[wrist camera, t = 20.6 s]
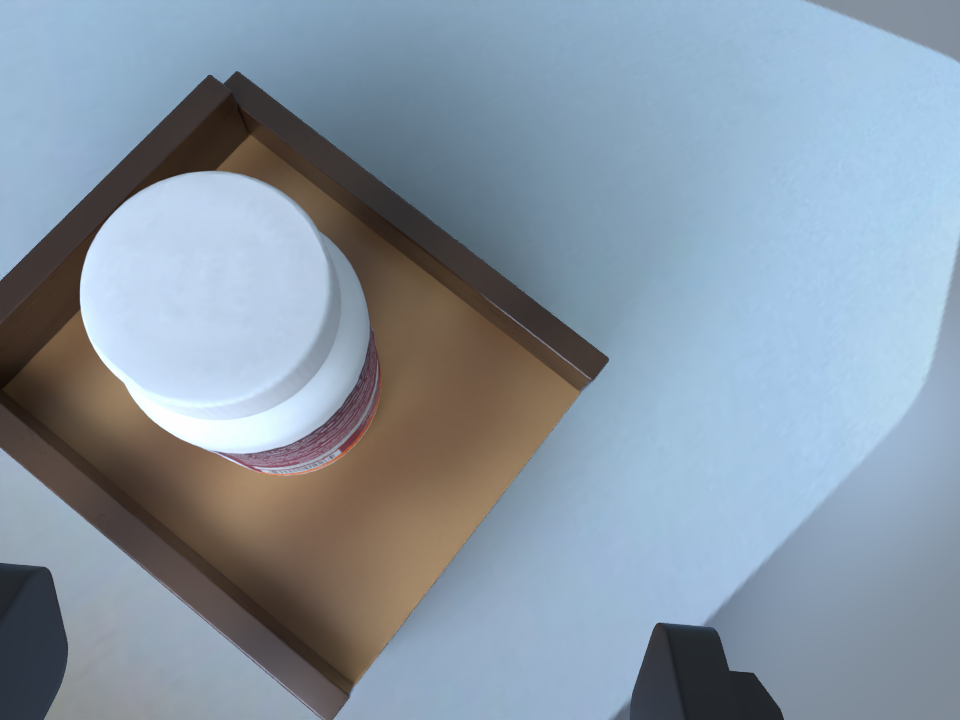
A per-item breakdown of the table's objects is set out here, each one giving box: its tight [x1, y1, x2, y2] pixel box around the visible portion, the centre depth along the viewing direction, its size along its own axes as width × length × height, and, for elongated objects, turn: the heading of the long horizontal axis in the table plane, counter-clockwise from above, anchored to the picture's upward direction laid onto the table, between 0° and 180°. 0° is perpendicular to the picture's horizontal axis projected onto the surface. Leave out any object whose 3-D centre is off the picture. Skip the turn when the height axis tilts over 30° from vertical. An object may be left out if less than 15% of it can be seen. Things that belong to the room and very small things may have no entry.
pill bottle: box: [80, 171, 381, 476], centre depth 22 cm, size 6×6×11 cm
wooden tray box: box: [0, 71, 609, 720], centre depth 31 cm, size 16×14×12 cm
